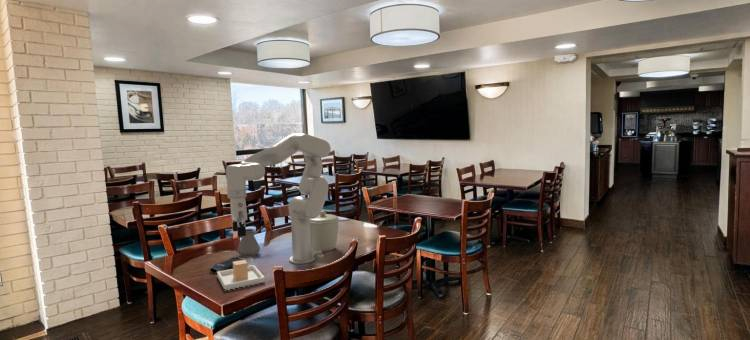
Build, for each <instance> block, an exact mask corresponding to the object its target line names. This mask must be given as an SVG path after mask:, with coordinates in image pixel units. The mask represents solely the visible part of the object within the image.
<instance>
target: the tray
mask: <svg viewBox="0 0 750 340" xmlns="http://www.w3.org/2000/svg"><path fill="white" fill-rule="evenodd" d="M247 268H248V279H245V280H240V281H235V279H234V278H233V269H229V270H224V271H218V272H217V271H216V272H217V273H216V274H217V275H216V276H217V279H218V281H219V282H220V284H221V287H222V288H223V290H224V289H225V290H224V291H225V292H227V291H226V290H228V291H231V290H230V289H233V290H236V289H235V288H238V289H240V288H239V287H243V288H246V287H245V286H248V287H250V286H249V285H253V286H255V285H254V284H258V285H260V284H259V283H263V282H265V283H266V278H265V275H264V274H262V272H261V271H260V269H258V268H257V266H256V265H253V264H252V265H247ZM263 284H264V283H263Z"/></svg>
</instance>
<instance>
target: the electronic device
mask: <svg viewBox="0 0 750 340" xmlns="http://www.w3.org/2000/svg"><path fill="white" fill-rule="evenodd" d="M240 260H245V258H240V257H239V256H234V257H233V256H231V257H230V258H229V259H227V260H224V261H222V262H217V263H215V264H213V265H211V266H210V268H209V270H210V273H212V274H213V273H214V274H217V272H218V271H224V270H229V269H233V262H235V261H240ZM245 261H246V260H245ZM214 270H216V272H214Z"/></svg>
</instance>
